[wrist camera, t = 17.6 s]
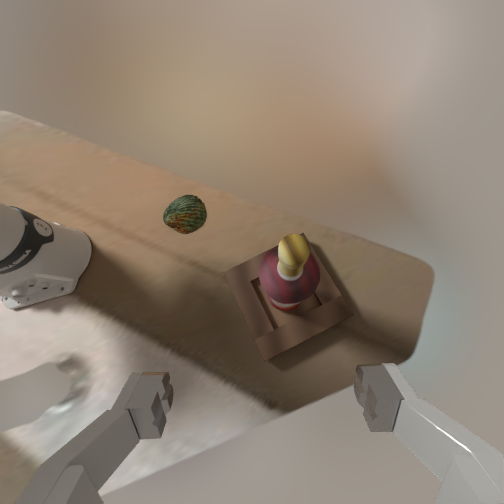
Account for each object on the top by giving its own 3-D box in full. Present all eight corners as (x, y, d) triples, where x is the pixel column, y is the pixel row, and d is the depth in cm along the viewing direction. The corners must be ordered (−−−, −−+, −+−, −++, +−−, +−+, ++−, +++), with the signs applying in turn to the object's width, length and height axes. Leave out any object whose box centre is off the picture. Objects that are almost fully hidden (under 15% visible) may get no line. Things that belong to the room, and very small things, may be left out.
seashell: (206, 215, 51) (163, 233, 51) (212, 224, 55) (171, 240, 55) (194, 181, 55) (154, 197, 55) (200, 191, 59) (162, 206, 59)
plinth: (265, 359, 45) (264, 361, 42) (227, 276, 51) (223, 272, 48) (348, 315, 46) (353, 315, 43) (301, 238, 52) (303, 232, 48)
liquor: (275, 318, 45) (271, 307, 19) (260, 283, 48) (238, 229, 21) (310, 303, 46) (356, 270, 19) (293, 269, 48) (314, 197, 21)
